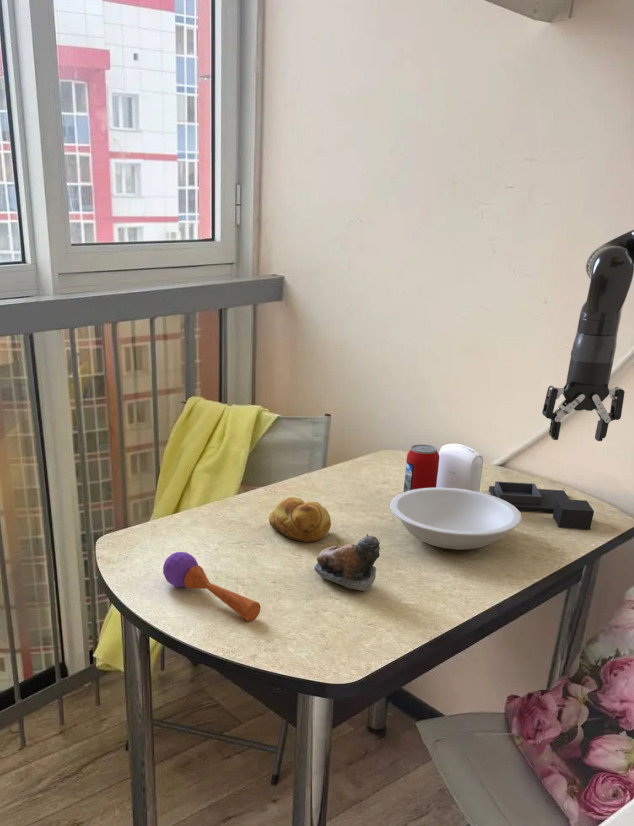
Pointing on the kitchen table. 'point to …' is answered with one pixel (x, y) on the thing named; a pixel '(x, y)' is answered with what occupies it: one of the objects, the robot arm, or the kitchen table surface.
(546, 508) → the base pad
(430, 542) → the soup bowl
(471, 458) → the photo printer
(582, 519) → the black block
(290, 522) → the bread roll
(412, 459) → the beverage can
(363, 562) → the bison figurine
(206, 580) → the purple toy maraca
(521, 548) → the kitchen table surface
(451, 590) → the kitchen table surface
